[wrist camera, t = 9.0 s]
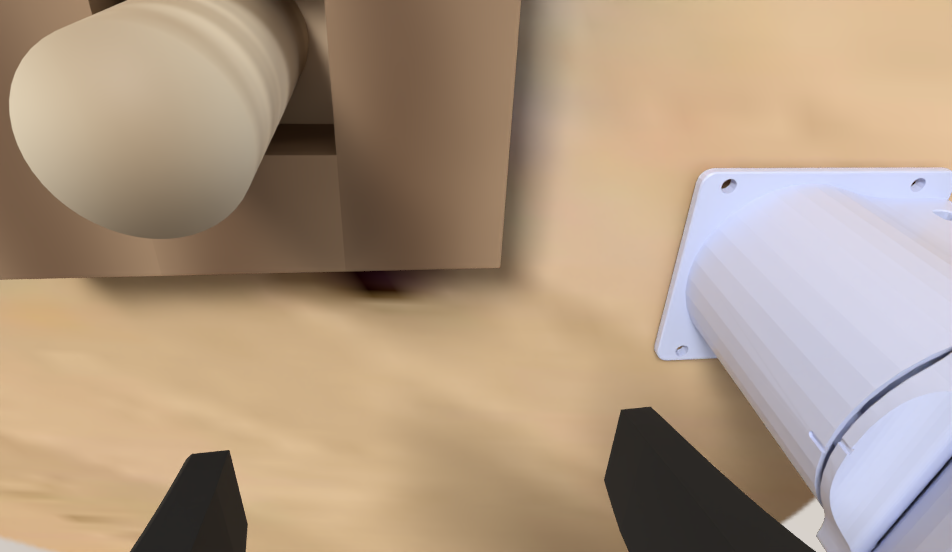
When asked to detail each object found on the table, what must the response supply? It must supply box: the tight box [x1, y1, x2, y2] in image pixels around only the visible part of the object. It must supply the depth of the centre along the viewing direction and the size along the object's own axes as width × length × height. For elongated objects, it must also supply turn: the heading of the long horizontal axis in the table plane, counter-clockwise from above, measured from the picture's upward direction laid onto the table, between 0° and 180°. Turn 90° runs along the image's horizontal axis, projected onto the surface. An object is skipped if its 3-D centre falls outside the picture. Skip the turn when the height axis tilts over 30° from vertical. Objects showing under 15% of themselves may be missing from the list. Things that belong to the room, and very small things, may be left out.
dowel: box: [9, 0, 309, 239], centre depth 13 cm, size 4×4×8 cm
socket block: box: [0, 0, 521, 280], centre depth 15 cm, size 14×12×3 cm
